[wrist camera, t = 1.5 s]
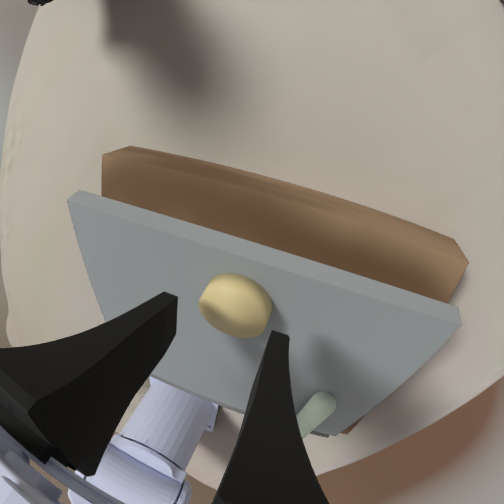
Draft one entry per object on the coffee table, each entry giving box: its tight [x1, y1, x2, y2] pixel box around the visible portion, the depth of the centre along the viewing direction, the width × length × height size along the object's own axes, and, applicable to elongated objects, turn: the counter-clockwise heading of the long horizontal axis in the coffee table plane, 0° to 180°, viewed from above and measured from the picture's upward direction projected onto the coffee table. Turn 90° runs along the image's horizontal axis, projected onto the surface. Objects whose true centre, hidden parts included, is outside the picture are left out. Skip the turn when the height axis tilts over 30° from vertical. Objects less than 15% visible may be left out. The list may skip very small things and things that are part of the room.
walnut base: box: [102, 146, 469, 434], centre depth 21 cm, size 18×22×3 cm
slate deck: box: [67, 190, 461, 439], centre depth 17 cm, size 17×19×3 cm
